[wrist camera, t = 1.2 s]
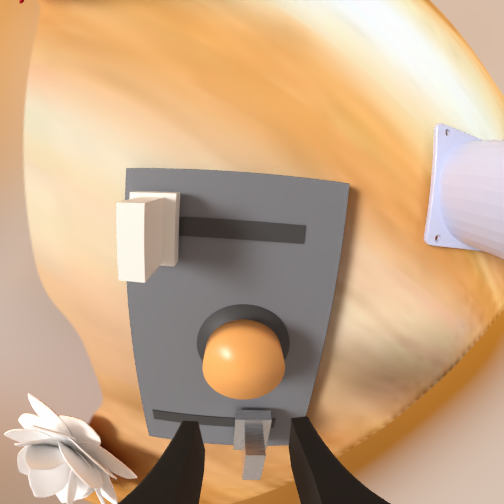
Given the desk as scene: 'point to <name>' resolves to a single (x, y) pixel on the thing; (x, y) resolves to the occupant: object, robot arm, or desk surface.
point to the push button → (243, 360)
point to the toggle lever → (147, 233)
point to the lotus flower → (65, 456)
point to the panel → (235, 292)
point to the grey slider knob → (252, 440)
